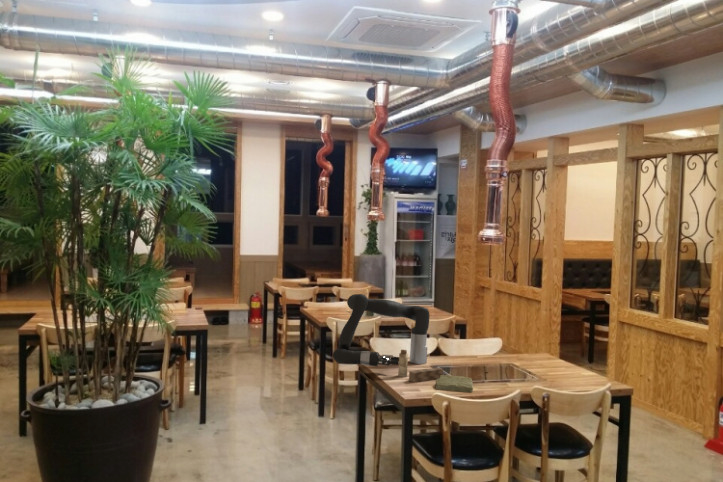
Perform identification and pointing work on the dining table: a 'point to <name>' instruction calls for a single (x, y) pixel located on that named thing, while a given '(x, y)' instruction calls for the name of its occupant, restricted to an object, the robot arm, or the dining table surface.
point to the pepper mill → (403, 363)
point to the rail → (425, 374)
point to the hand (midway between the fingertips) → (399, 361)
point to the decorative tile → (454, 383)
